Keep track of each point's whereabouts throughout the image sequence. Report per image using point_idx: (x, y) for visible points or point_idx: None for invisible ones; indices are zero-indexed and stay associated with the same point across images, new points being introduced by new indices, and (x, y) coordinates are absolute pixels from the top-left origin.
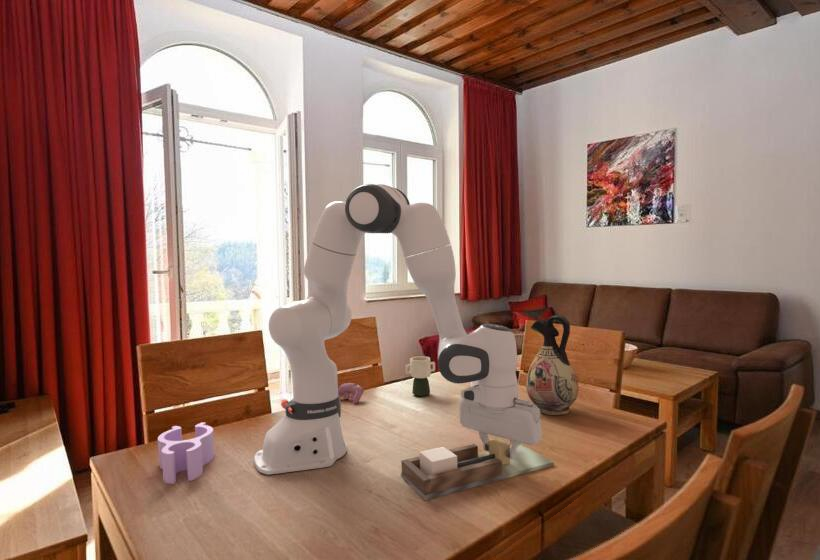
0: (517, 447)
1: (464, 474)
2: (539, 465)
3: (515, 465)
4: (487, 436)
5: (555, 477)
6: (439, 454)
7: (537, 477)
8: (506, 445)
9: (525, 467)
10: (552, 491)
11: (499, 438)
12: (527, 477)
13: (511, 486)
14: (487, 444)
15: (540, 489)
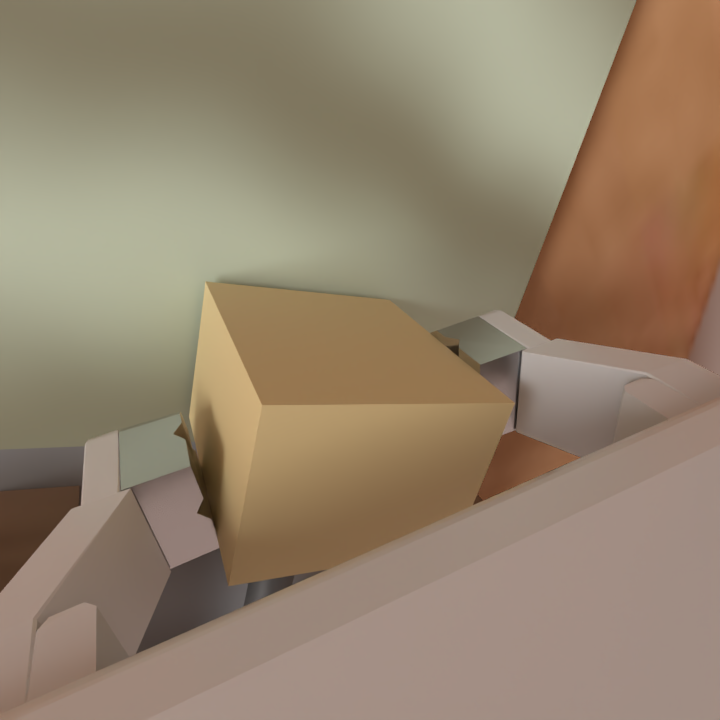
0: (594, 350)
1: None
2: (596, 93)
3: (437, 281)
4: (76, 573)
5: (695, 128)
6: None
7: (599, 238)
8: (488, 447)
9: (518, 238)
10: (703, 304)
11: (267, 409)
12: (547, 297)
13: (522, 450)
14: (198, 552)
15: (650, 341)
